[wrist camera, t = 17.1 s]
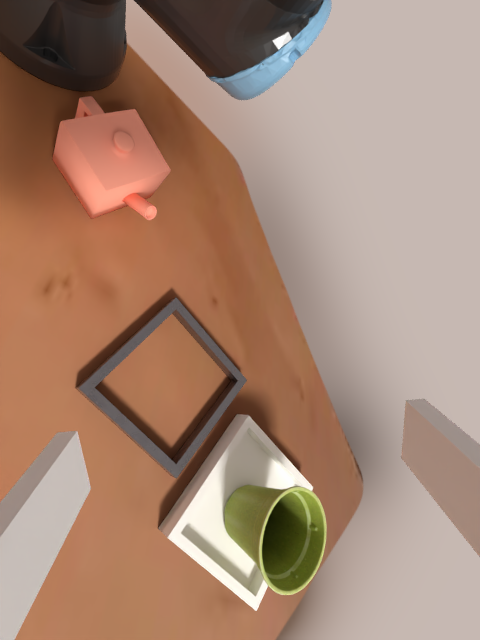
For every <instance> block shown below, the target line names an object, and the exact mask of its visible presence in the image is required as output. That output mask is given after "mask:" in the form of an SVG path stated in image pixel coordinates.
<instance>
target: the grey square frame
mask: <svg viewBox="0 0 480 640" xmlns="http://www.w3.org/2000/svg"><path fill="white" fill-rule="evenodd" d="M172 313H173V315H174V316H175V317H176V318H177V319H178V320H179V321H180V323H181V324H182V325H183V326H184V327H185V328H186V329H187V331H188V332H189V333H190V334H191V335H192V336H193V337H194V339H195V340H196V341H197V342H198V343H199V344H200V345H201V347H202V348H203V349H204V350H205V351H206V352H207V353H208V355H209V356H210V357H211V358H212V359H213V360H214V361H215V363H216V364H217V365H218V366H219V367H220V368H221V369H222V371H223V372H224V373H225V374H226V375H227V376H228V377H229V379H230V380H231V382H230V383H229V385H228V386H227V387H226V389H225V390H224V391H223V393H222V394H221V395H220V397H219V398H218V399H217V401H216V402H215V403H214V405H213V406H212V407H211V409H210V410H209V411H208V413H207V414H206V415H205V417H204V418H203V419H202V421H201V422H200V423H199V425H198V426H197V427H196V429H195V430H194V431H193V433H192V434H191V435H190V437H189V438H188V439H187V441H186V442H185V443H184V445H183V446H182V447H181V449H180V450H179V451H178V453H177V454H176V455H175V457H174V458H173V459H172V460H171V459H170V458H169V457H168V456H167V455H166V454H165V453H164V452H163V451H162V450H161V449H159V448H158V447H157V446H156V445H155V444H154V443H153V442H152V441H151V440H150V439H149V438H148V437H147V436H146V435H145V434H143V433H142V432H141V431H140V430H139V429H138V428H137V427H136V426H135V425H134V424H133V423H132V422H131V421H130V420H129V419H127V418H126V417H125V416H124V415H123V414H122V413H121V412H120V411H119V410H118V409H117V408H116V407H115V406H114V405H113V404H112V403H110V402H109V401H108V400H107V399H106V398H105V397H104V396H103V395H102V394H101V393H100V392H99V391H98V390H97V389H96V388H95V387H96V386H97V385H98V384H99V383H100V382H101V381H102V380H103V379H104V378H105V377H106V376H107V375H108V374H109V373H110V372H111V371H112V370H113V369H114V368H115V367H116V366H118V365H119V364H120V363H121V362H122V361H123V360H124V359H125V358H126V357H127V356H128V355H129V354H130V353H131V352H132V351H133V350H134V349H135V348H136V347H137V346H138V345H139V344H140V343H141V342H142V341H144V340H145V339H146V338H147V337H148V336H149V335H150V334H151V333H152V332H153V331H154V330H155V329H156V328H157V327H158V326H159V325H160V324H161V323H162V322H163V321H164V320H165V319H166V318H167V317H168V316H170V315H171V314H172ZM246 381H247V380H246V378H245V377H244V376H243V375H242V374H241V373H240V371H239V370H238V369H237V368H236V367H235V366H234V364H233V363H232V362H231V361H230V360H229V359H228V357H227V356H226V355H225V354H224V353H223V352H222V350H221V349H220V348H219V347H218V346H217V345H216V343H215V342H214V341H213V340H212V339H211V338H210V336H209V335H208V334H207V333H206V332H205V331H204V329H203V328H202V327H201V326H200V325H199V324H198V322H197V321H196V320H195V319H194V318H193V317H192V315H191V314H190V313H189V312H188V311H187V310H186V308H185V307H184V306H183V305H182V304H181V302H180V301H179V300H178V299H177V298H174V299H172V300H170V301H169V302H168V303H167V304H166V305H165V306H164V307H163V308H162V309H161V310H159V311H158V312H157V313H156V314H155V315H154V316H153V317H152V318H151V319H150V320H149V321H148V322H146V323H145V324H144V325H143V326H142V327H141V328H140V329H139V330H138V331H137V332H136V333H135V334H133V335H132V336H131V337H130V338H129V339H128V340H127V341H126V342H125V343H124V344H123V345H122V346H121V347H119V348H118V349H117V350H116V351H115V352H114V353H113V354H112V355H111V356H110V357H109V358H108V359H106V360H105V361H104V362H103V363H102V364H101V365H100V366H99V367H98V368H97V369H96V370H95V371H93V372H92V373H91V374H90V375H89V376H88V377H87V378H86V379H85V380H84V381H83V382H82V383H81V384H79V385H78V386H77V387H76V389H77V390H78V391H79V392H80V393H81V394H82V395H83V396H85V397H86V398H87V399H88V400H89V401H90V402H91V403H92V404H93V405H94V406H95V407H97V408H98V409H99V410H100V411H101V412H102V413H103V414H104V415H105V416H106V417H107V418H109V419H110V420H111V421H112V422H113V423H114V424H115V425H116V426H117V427H118V428H119V429H121V430H122V431H123V432H124V433H125V434H126V435H127V436H128V437H129V438H130V439H131V440H133V441H134V442H135V443H136V444H137V445H138V446H139V447H140V448H141V449H142V450H143V451H145V452H146V453H147V454H148V455H149V456H150V457H151V458H152V459H153V460H154V461H155V462H157V463H158V464H159V465H160V466H161V467H162V468H163V469H164V470H165V471H166V472H168V473H169V474H170V475H171V476H173V477H175V478H177V477H178V476H179V474H180V473H181V471H182V470H183V469H184V467H185V466H186V465H187V463H188V462H189V460H190V459H191V458H192V456H193V455H194V453H195V452H196V451H197V449H198V448H199V446H200V445H201V444H202V442H203V441H204V439H205V438H206V437H207V435H208V434H209V433H210V431H211V430H212V428H213V427H214V426H215V424H216V423H217V421H218V420H219V419H220V417H221V416H222V414H223V413H224V412H225V410H226V409H227V407H228V406H229V405H230V403H231V402H232V400H233V399H234V398H235V396H236V395H237V394H238V392H239V391H240V389H241V388H242V387H243V385H244V384H245V382H246Z"/></svg>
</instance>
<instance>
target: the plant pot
mask: <svg viewBox="0 0 480 640" xmlns="http://www.w3.org/2000/svg"><path fill="white" fill-rule="evenodd" d="M224 514H225V529H226V532H227V534H228V535H229V536H230V538H231V539H232V540H233V541H234V542H235V543H236V544H237V545H238V546H239V547H240V548H241V549H242V550H243V551H244V552H245V553H246V554H247V555H248V556H249V557H250V558H251V559H252V560H253V561H254V562H255V563H256V564H257V566H258V568H259V570H260V571H261V574H262V576H263V578H264V580H265V582H266V583H267V585H268V586H269V587H270V588H271V589H272V590H273V591H275V592H276V593H278V594H281V595H292V594H295V593H297V592H299V591H300V590H302V589H303V588H304V587H305V586H306V585H307V584H308V583H309V582H310V580H311V579H312V578H313V576H314V575H315V573H316V571H317V569H318V567H319V565H320V562H321V560H322V557H323V553H324V548H325V544H326V519H325V514H324V510H323V507H322V504H321V502H320V500H319V499H318V497H317V496H316V495H315V494H314V493H313V492H312V491H311V490H309V489H307V488H305V487H300V486H294V487H290V488H287V489H282V490H281V489H274V488H267V487H261V486H255V485H245V486H242V487H239V488H238V489H236V490H235V491H234V492H233V493H232V495H231V496H230V498H229V500H228V502H227V504H226V507H225V512H224Z"/></svg>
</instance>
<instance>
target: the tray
mask: <svg viewBox="0 0 480 640" xmlns="http://www.w3.org/2000/svg"><path fill="white" fill-rule="evenodd" d="M245 485H255V486H261V487H267V488H274V489H281V490H282V489H287V488H290V487H294V486H300V487H305V488H307V489H309V490H311V491H312V489H313V487H312V486H311V484H310V483H309V482H308V481H307V480H306V479H305V478H304V477H303V475H302V474H301V473H300V472H299V471H298V470H297V469H296V468H295V467H294V465H293V464H292V463H291V462H290V461H289V460H288V459H287V458H286V456H285V455H284V454H283V453H282V452H281V451H280V450H279V449H278V448H277V446H276V445H275V444H274V443H273V442H272V441H271V440H270V439H269V437H268V436H267V435H266V434H265V433H264V432H263V431H262V430H261V429H260V427H259V426H258V425H257V424H256V423H255V422H254V421H253V420H252V418H251V417H250V416H249V415H242V414H237V415H236V416H235V417H234V419H233V420H232V422H231V423H230V425H229V426H228V428H227V429H226V431H225V432H224V433H223V435H222V436H221V438H220V439H219V441H218V442H217V444H216V445H215V446H214V448H213V449H212V451H211V452H210V454H209V455H208V457H207V458H206V460H205V461H204V462H203V464H202V465H201V467H200V468H199V470H198V471H197V473H196V474H195V476H194V477H193V478H192V480H191V481H190V483H189V484H188V486H187V487H186V489H185V490H184V491H183V493H182V494H181V496H180V497H179V499H178V500H177V502H176V503H175V505H174V506H173V507H172V509H171V510H170V512H169V513H168V515H167V516H166V518H165V519H164V521H163V522H162V523H161V525H160V526H159V528H158V529H159V530H160V531H161V532H162V533H163V534H164V535H165V536H166V537H167V538H169V539H170V540H171V541H172V542H173V543H175V544H176V545H177V546H178V547H179V548H181V549H182V550H183V551H184V552H186V553H187V554H188V555H189V556H190V557H192V558H193V559H194V560H195V561H196V562H198V563H199V564H200V565H201V566H202V567H204V568H205V569H206V570H207V571H208V572H210V573H211V574H212V575H213V576H215V577H216V578H217V579H218V580H219V581H221V582H222V583H223V584H224V585H225V586H227V587H228V588H229V589H230V590H231V591H233V592H234V593H235V594H236V595H238V596H239V597H240V598H241V599H242V600H244V601H245V602H246V603H247V604H248V605H250V606H251V607H252V608H253V609H254V610H256V611H257V609H258V606H259V604H260V602H261V600H262V598H263V596H264V593H265V591H266V589H267V587H268V585H267V583H266V582H265V580H264V578H263V576H262V574H261V571H260V570H259V568H258V566H257V564H256V563H255V562H254V561H253V560H252V559H251V558H250V557H249V556H248V555H247V554H246V553H245V552H244V551H243V550H242V549H241V548H240V547H239V546H238V545H237V544H236V543H235V542H234V541H233V540H232V539H231V538H230V536H229V535H228V534H227V532H226V529H225V514H224V512H225V507H226V504H227V502H228V500H229V498H230V496H231V495H232V493H233V492H234V491H235V490H236V489H238V488H239V487H242V486H245Z"/></svg>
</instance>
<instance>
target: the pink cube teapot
mask: <svg viewBox="0 0 480 640" xmlns="http://www.w3.org/2000/svg"><path fill="white" fill-rule="evenodd" d="M52 160H53V161H54V163H55V164H56V166H57V168H58V169H59V171H60V172H61V174H62V175H63V177H64V178H65V180H66V181H67V183H68V184H69V186H70V187H71V189H72V190H73V192H74V193H75V195H76V196H77V198H78V200H79V201H80V203H81V204H82V206H83V207H84V209H85V210H86V212H87V213H88V215H89V216H90V218H91V219H93V218H95V217H98V216H101V215H104V214H106V213H109V212H112V211H115V210H117V209H120V208H123V207H125V206H130V207H131V208H132V209H134V210H135V211H137V212H138V213H139V214H141V215H142V216H143V217H145V218H146V219H148V220H151V219H153V218H154V217H155V216H156V213H157V209H156V207H155V206H153V205H152V204H151V203H149V202H148V201H146V200H145V199H147V198H150V197H151V196H152V195H153V193H154V192H155V191H156V189H157V188H158V187H159V186H160V184H161V183H162V182H163V180H164V179H165V178H166V177H167V175H168V174H169V173H170V171H171V170H170V168H169V166H168V165H167V163H166V161H165V159H164V158H163V156H162V154H161V152H160V151H159V149H158V147H157V146H156V144H155V142H154V140H153V139H152V137H151V135H150V133H149V132H148V130H147V128H146V127H145V125H144V123H143V122H142V120H141V118H140V117H139V115H138V113H137V111H136V109H130V110H123V111H117V112H111V113H104V112H103V110H102V109H101V107H100V106H99V105H98V103H97V102H96V101H95V99H94V98H93V97H92V96H88V97H80V98H79V103H78V107H77V112H76V116H75V119H70V120H64V121H60V125H59V130H58V135H57V139H56V144H55V149H54V154H53V158H52Z"/></svg>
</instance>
